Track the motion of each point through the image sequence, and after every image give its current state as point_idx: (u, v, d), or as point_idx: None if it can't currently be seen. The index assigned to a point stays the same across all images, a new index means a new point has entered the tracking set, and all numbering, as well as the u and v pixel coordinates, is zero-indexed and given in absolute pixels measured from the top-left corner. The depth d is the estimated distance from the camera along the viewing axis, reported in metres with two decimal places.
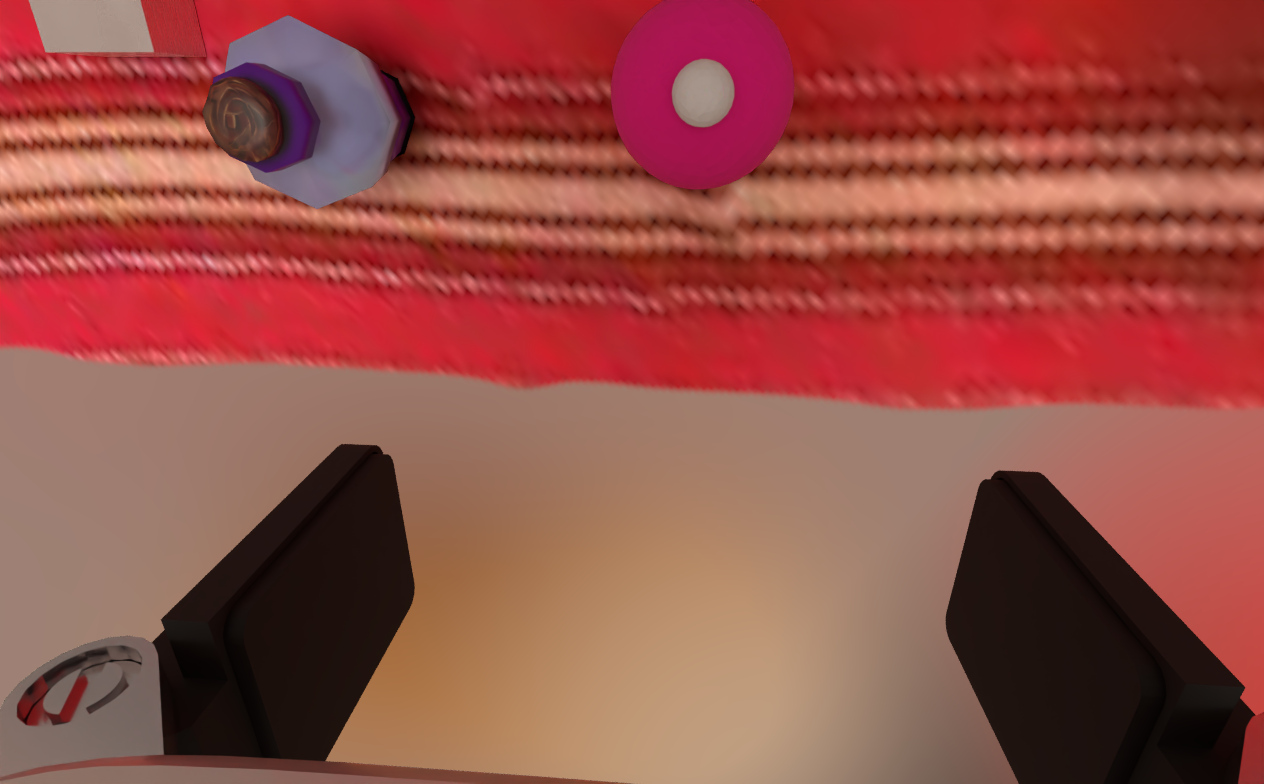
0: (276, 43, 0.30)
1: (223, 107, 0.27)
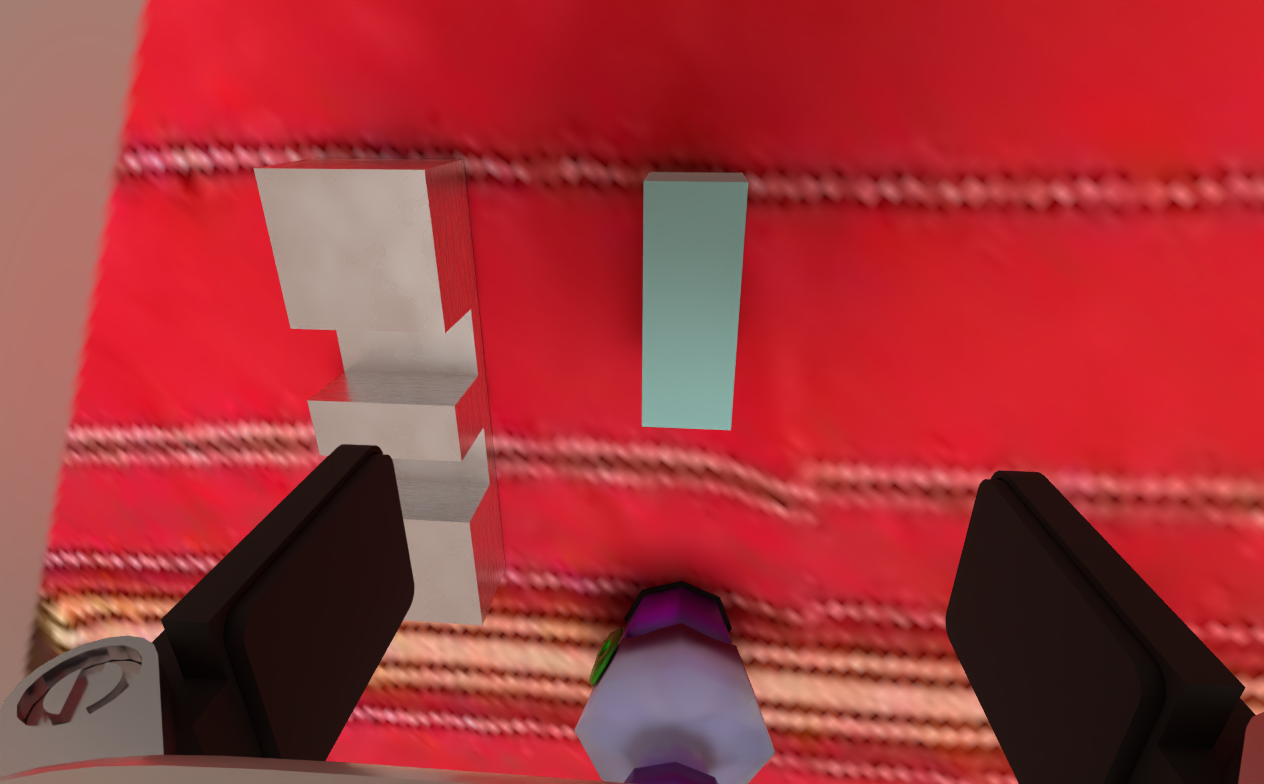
0: (664, 694, 0.26)
1: None
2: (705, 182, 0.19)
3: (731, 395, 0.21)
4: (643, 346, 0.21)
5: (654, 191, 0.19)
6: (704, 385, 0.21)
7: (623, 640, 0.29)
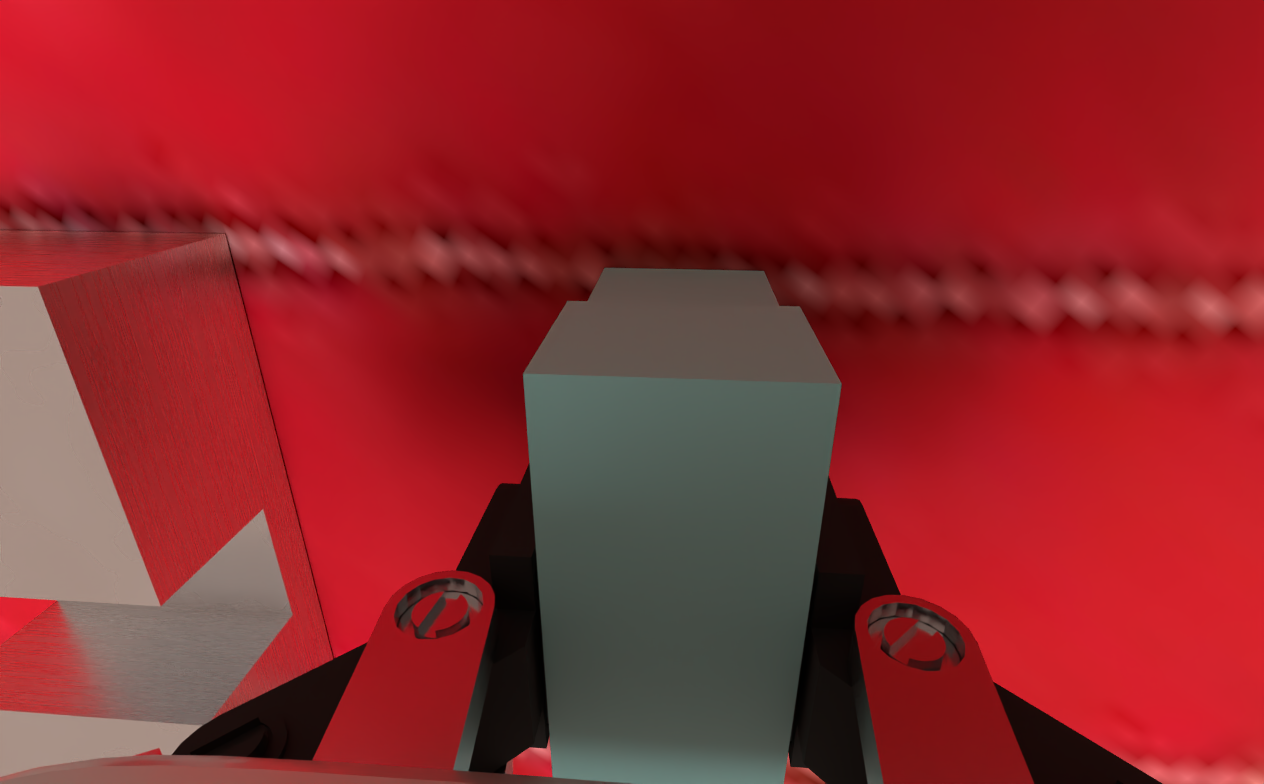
0: None
1: None
2: (709, 380, 0.06)
3: None
4: (552, 741, 0.08)
5: (557, 401, 0.06)
6: None
7: None
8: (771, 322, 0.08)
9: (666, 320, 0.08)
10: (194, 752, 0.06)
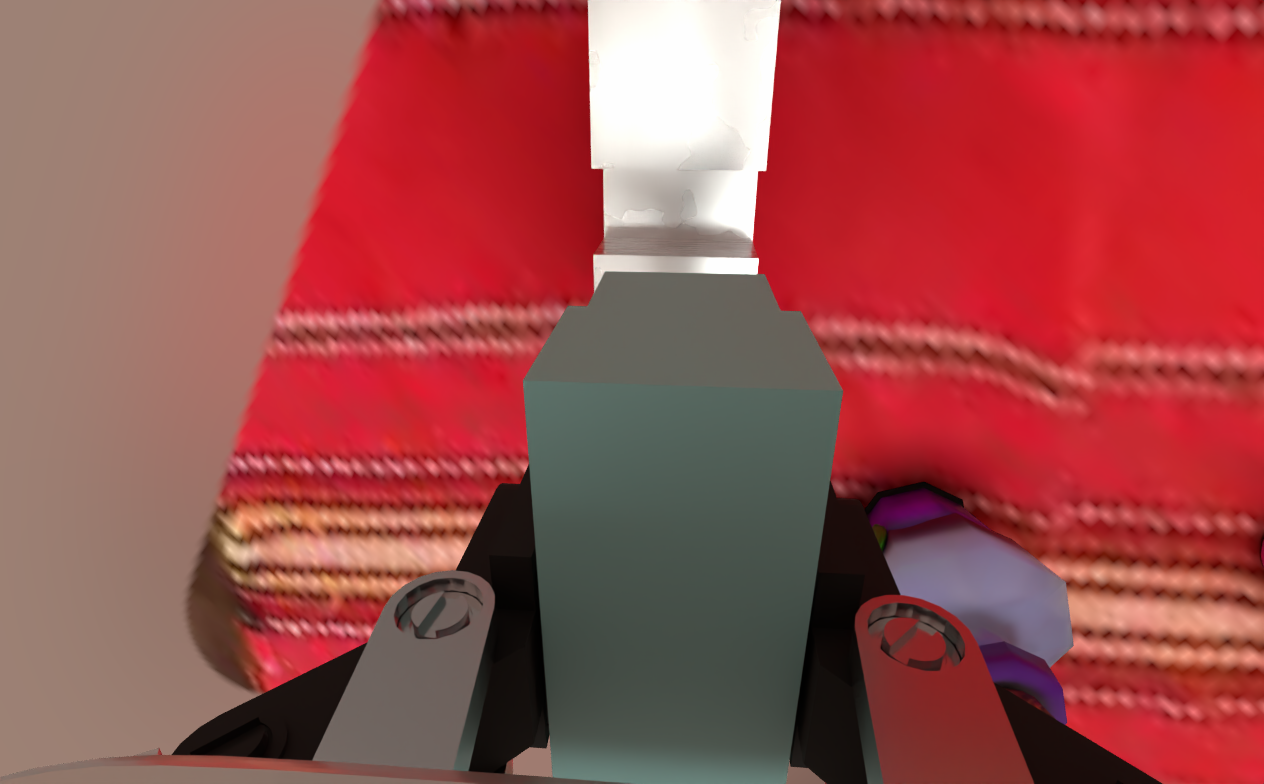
0: (970, 576, 0.24)
1: None
2: (709, 387, 0.06)
3: None
4: (552, 748, 0.08)
5: (557, 408, 0.06)
6: None
7: (892, 532, 0.27)
8: (772, 327, 0.08)
9: (667, 326, 0.08)
10: (194, 753, 0.06)
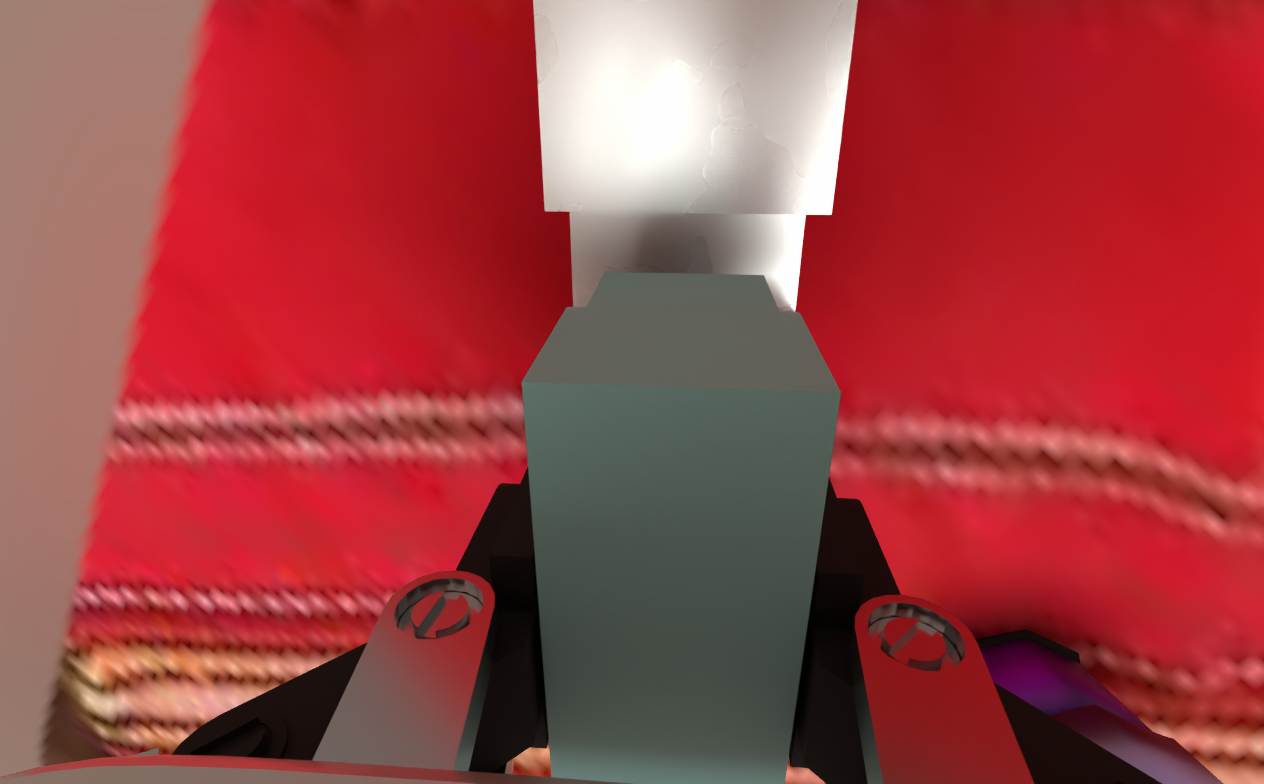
0: None
1: None
2: (708, 388, 0.06)
3: None
4: (551, 748, 0.08)
5: (556, 409, 0.06)
6: None
7: None
8: (771, 328, 0.08)
9: (665, 326, 0.08)
10: (194, 753, 0.06)
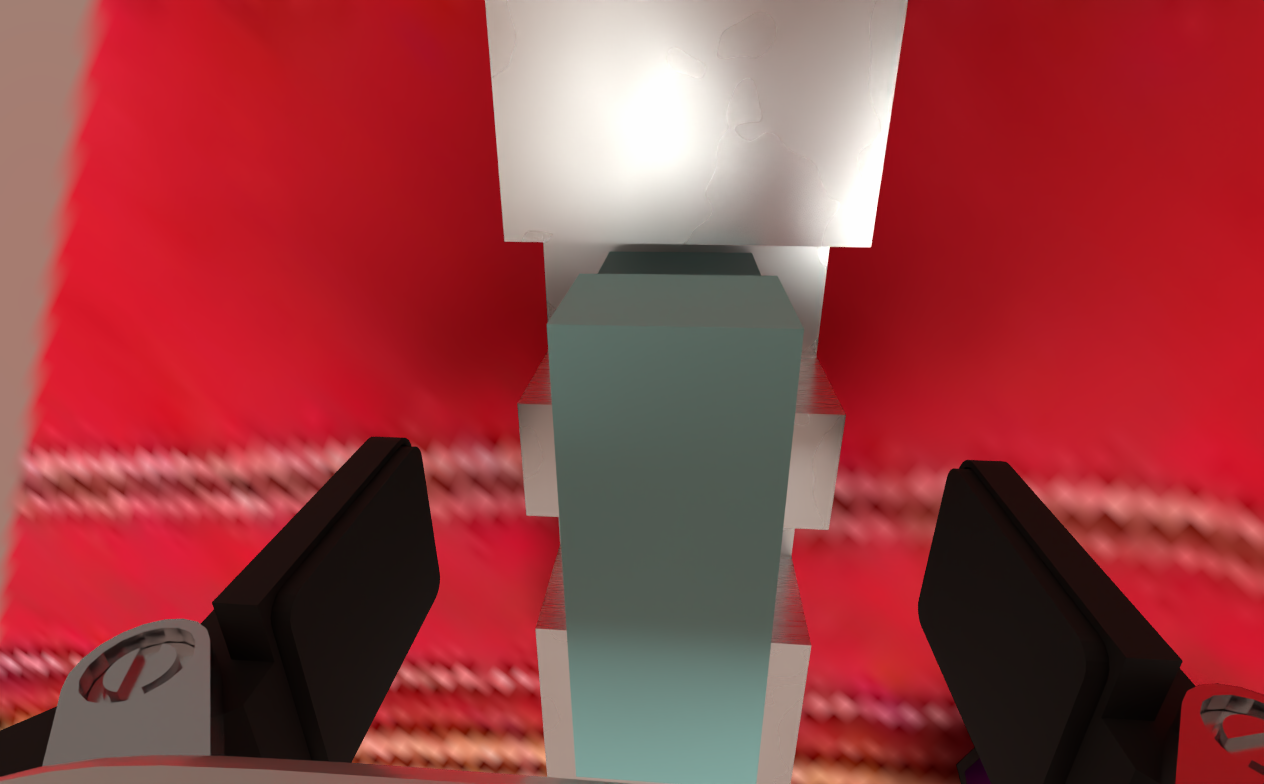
0: None
1: None
2: (697, 328, 0.08)
3: (757, 735, 0.10)
4: (569, 648, 0.10)
5: (574, 347, 0.08)
6: (700, 716, 0.10)
7: None
8: (752, 287, 0.09)
9: (663, 286, 0.09)
10: None
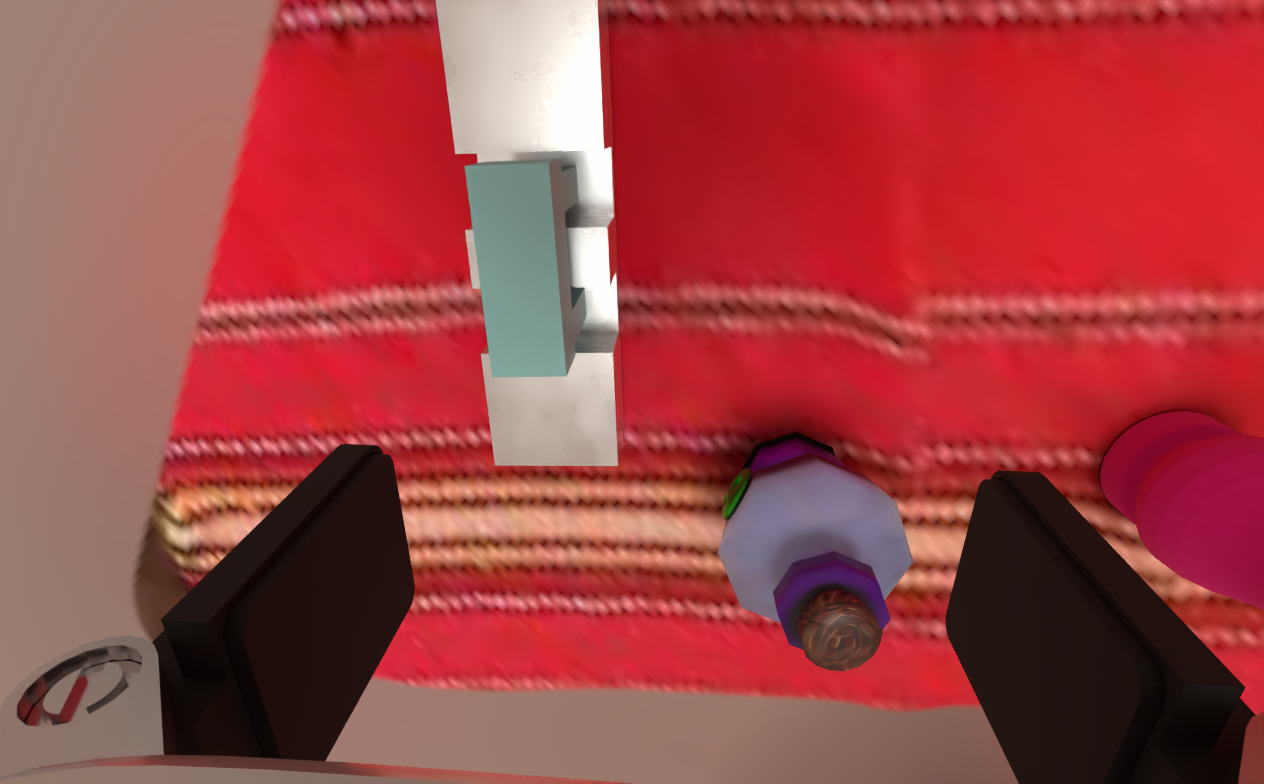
0: (811, 500, 0.28)
1: (830, 631, 0.24)
2: (514, 164, 0.23)
3: (562, 345, 0.25)
4: (483, 306, 0.25)
5: (474, 174, 0.23)
6: (538, 338, 0.25)
7: (755, 472, 0.31)
8: (545, 160, 0.24)
9: (513, 161, 0.24)
10: None
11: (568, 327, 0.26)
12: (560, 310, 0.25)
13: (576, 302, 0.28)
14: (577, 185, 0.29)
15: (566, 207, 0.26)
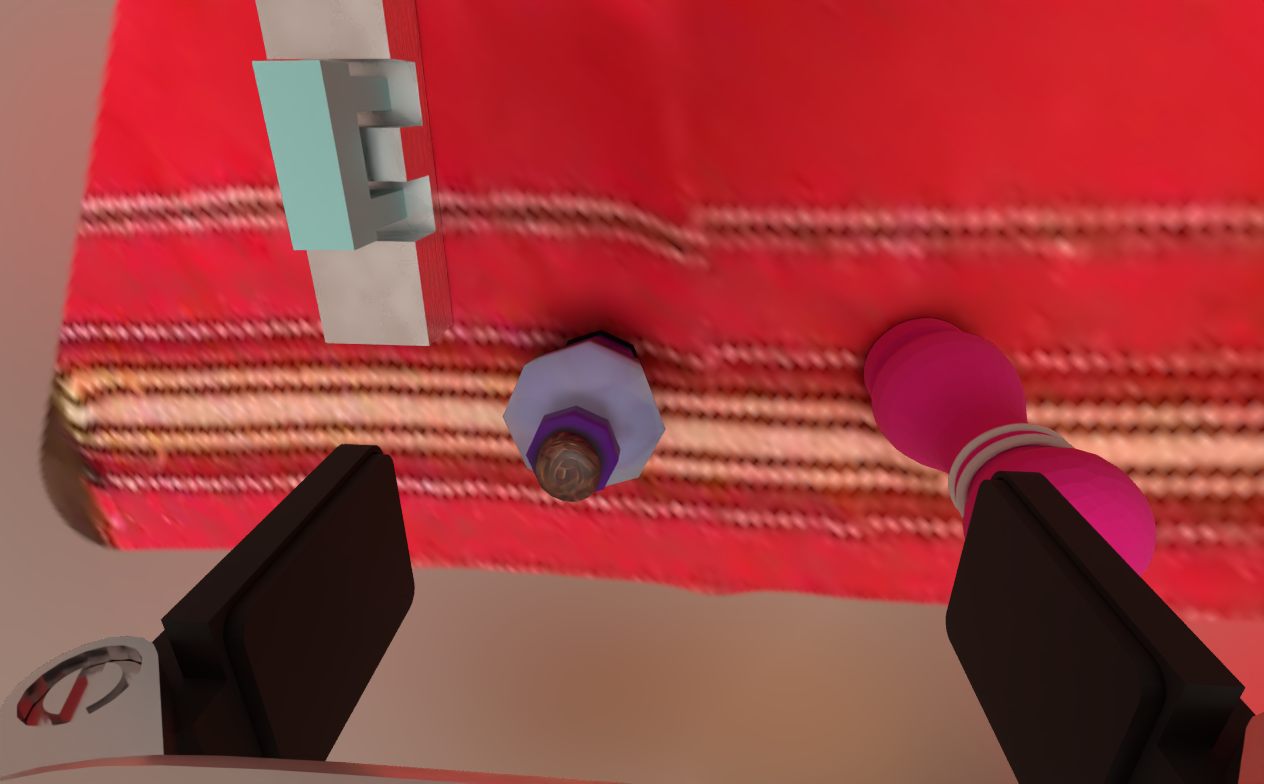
0: (571, 369, 0.32)
1: (556, 463, 0.29)
2: (292, 61, 0.27)
3: (348, 222, 0.30)
4: None
5: (260, 68, 0.28)
6: (327, 215, 0.30)
7: (545, 353, 0.36)
8: None
9: None
10: None
11: (360, 210, 0.31)
12: (343, 191, 0.29)
13: (382, 196, 0.33)
14: (389, 96, 0.34)
15: (361, 108, 0.31)
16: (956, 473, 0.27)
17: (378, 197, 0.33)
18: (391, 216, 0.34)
